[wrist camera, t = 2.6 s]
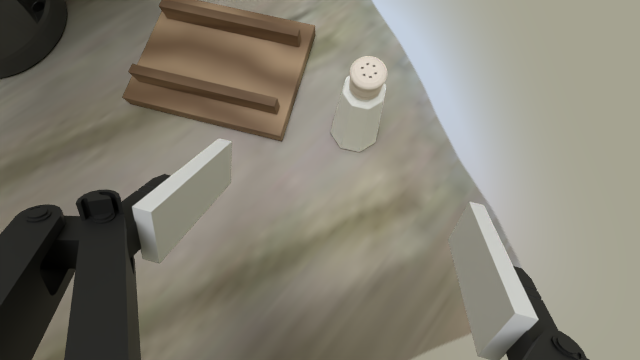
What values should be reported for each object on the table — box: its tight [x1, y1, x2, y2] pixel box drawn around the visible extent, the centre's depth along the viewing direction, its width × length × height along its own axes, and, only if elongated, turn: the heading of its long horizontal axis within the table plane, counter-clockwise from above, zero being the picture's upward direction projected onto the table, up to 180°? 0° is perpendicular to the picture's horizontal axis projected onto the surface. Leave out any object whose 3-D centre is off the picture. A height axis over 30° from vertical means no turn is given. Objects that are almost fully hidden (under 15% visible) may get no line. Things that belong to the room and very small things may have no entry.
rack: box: [122, 0, 315, 141], centre depth 33 cm, size 14×18×3 cm
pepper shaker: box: [330, 56, 387, 152], centre depth 27 cm, size 5×5×11 cm
